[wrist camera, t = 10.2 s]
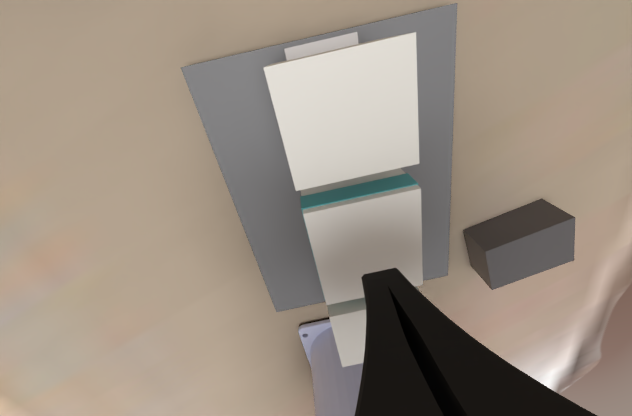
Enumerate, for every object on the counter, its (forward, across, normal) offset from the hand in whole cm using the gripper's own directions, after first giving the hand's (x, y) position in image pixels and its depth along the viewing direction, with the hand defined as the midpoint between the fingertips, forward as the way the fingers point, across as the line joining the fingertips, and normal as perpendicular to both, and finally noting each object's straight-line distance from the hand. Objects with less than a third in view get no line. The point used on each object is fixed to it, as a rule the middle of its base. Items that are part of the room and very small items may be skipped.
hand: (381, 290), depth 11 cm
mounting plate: (+9, 0, 0) cm, 9 cm away
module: (+7, 0, 0) cm, 7 cm away
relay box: (+10, -12, +7) cm, 17 cm away
